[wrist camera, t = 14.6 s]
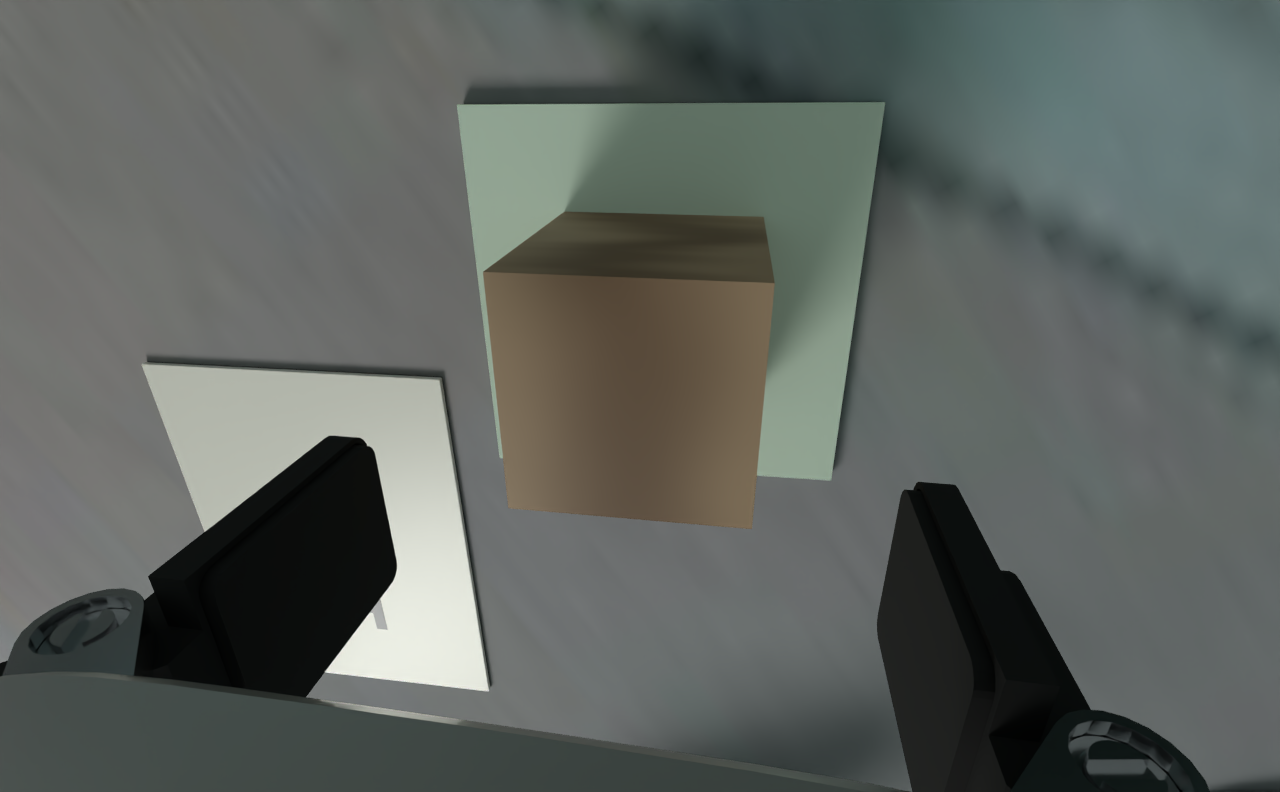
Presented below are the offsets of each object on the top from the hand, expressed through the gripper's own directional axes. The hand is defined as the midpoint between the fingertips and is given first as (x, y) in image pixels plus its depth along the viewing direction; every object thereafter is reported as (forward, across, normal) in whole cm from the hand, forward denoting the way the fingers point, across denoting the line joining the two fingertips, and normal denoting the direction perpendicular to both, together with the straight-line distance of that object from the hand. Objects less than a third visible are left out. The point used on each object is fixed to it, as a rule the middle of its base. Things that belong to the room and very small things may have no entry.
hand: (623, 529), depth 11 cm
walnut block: (+11, +1, -1) cm, 11 cm away
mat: (+11, +1, -1) cm, 11 cm away
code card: (+11, +15, +10) cm, 21 cm away
